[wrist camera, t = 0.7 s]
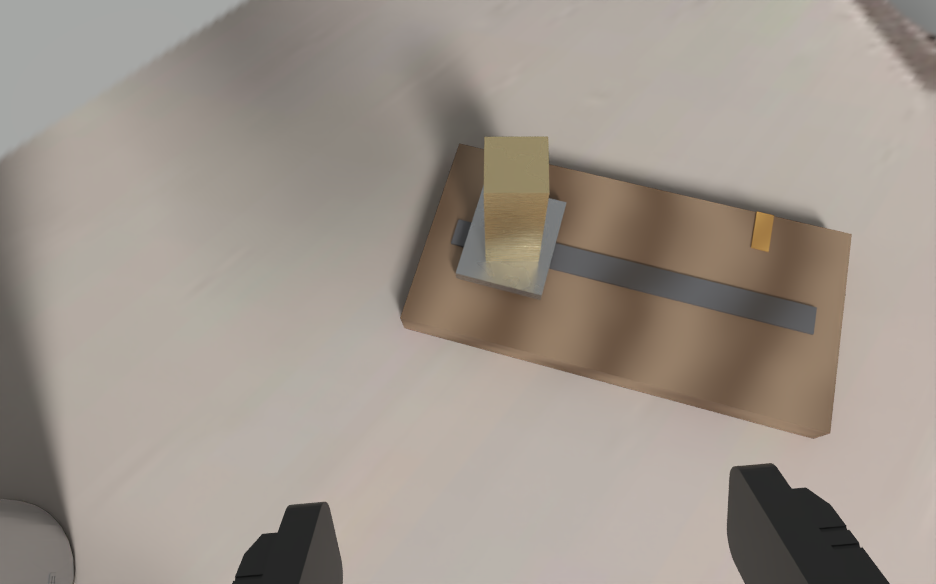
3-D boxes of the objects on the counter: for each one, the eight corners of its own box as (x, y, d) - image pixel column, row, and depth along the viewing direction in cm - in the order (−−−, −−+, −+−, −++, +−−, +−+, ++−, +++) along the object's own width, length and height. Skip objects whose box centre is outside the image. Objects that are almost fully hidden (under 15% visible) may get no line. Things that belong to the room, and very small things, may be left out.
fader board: (404, 328, 41) (399, 316, 39) (460, 160, 45) (459, 141, 43) (813, 438, 38) (831, 432, 36) (835, 248, 41) (853, 232, 39)
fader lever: (456, 278, 39) (446, 207, 31) (484, 189, 41) (482, 100, 33) (540, 300, 38) (553, 233, 30) (565, 208, 40) (583, 123, 32)
